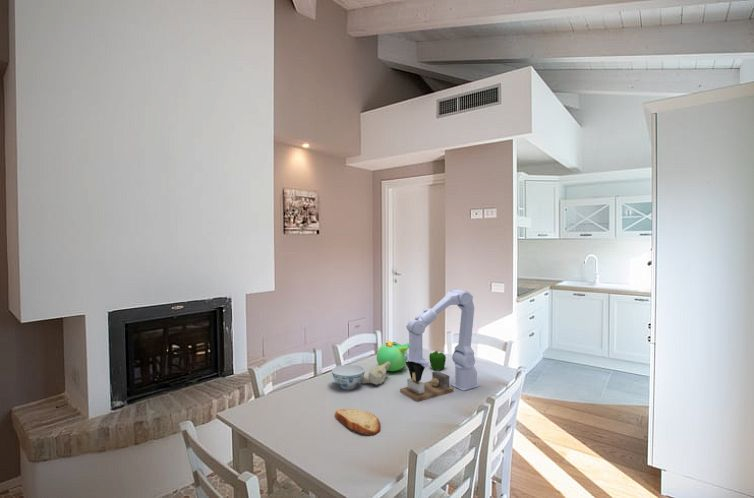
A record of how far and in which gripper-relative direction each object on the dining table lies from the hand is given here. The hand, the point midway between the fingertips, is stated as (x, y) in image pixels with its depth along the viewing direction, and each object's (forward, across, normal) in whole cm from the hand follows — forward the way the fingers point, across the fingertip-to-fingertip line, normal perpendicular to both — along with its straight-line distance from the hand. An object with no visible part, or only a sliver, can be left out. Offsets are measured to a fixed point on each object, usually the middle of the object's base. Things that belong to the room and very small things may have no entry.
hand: (415, 379), depth 164 cm
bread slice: (+7, +9, -34) cm, 36 cm away
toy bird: (+7, -32, +10) cm, 34 cm away
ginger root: (+7, -22, -5) cm, 24 cm away
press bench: (+7, 0, +6) cm, 9 cm away
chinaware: (+7, -24, -20) cm, 32 cm away
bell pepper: (+7, -21, +30) cm, 37 cm away
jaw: (+5, 0, 0) cm, 5 cm away
